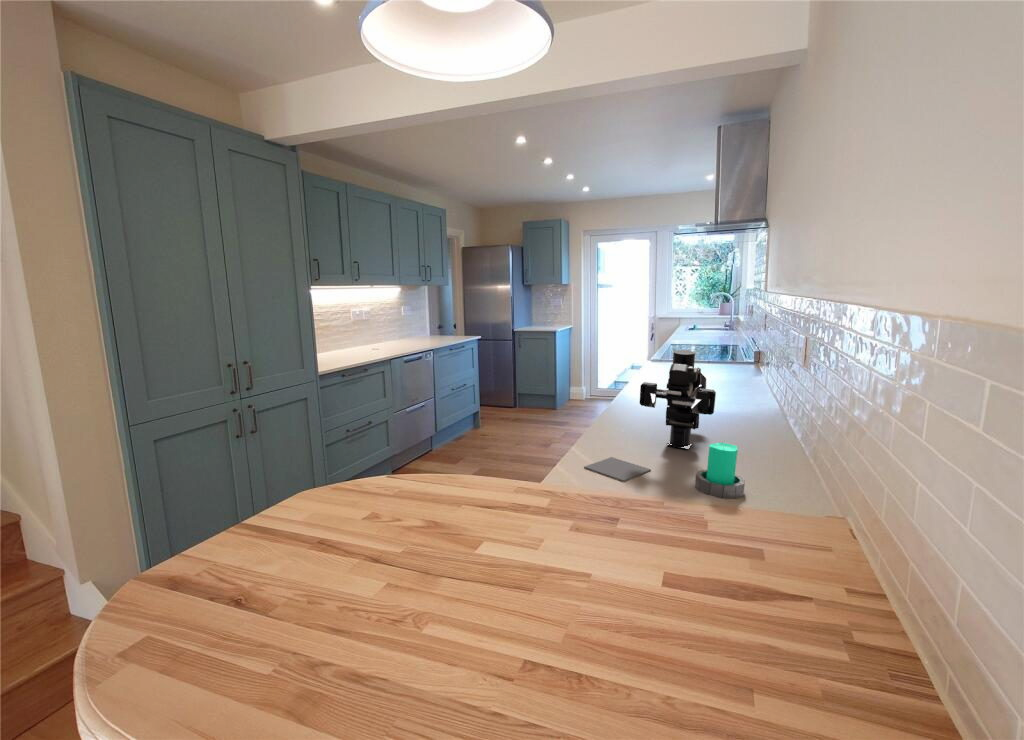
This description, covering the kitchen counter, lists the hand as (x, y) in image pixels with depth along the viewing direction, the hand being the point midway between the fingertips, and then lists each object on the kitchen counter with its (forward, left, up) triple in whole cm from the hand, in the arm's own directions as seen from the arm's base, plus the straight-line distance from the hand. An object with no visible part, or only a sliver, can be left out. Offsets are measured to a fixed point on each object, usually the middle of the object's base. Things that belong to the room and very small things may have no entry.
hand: (671, 407), depth 120 cm
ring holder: (+5, +13, -17) cm, 22 cm away
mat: (+6, -11, -17) cm, 21 cm away
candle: (+5, +13, -17) cm, 22 cm away
